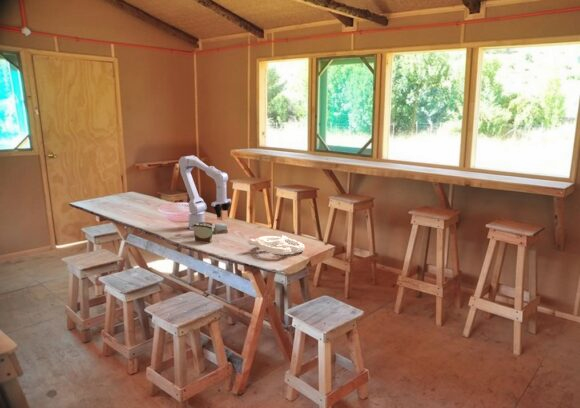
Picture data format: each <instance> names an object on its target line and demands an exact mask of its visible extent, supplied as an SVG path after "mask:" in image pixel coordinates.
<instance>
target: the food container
mask: <svg viewBox="0 0 580 408" xmlns="http://www.w3.org/2000/svg"><path fill="white" fill-rule="evenodd" d="M192 227H194V230H193V233H194V241H195V242H197V243H198V242H199V243H204V244H205V243H206V244H211V243H212V240H213V239H212V238H213V230H214V228H215V226H214V224H213V223H212V222H209V221H204V222H197V223H193V226H192Z"/></svg>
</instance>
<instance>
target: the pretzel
mask: <svg viewBox="0 0 580 408" xmlns="http://www.w3.org/2000/svg"><path fill="white" fill-rule="evenodd" d="M247 244H249V245H250V246H254V247H257V248H258V249H259V250H261V251H263V252H266V253H267V252H268V253H270V254H274V255H284V256H285V255H287V256H288V255H289V254H290V255H291V254H292V252H293V253H295V254H296V253H297V254H298V253H303V252H304V250H305V247H306V246H305V244H303V243H302V241H299V240H297V239H294V238H289V237H288V236H286V235H280V236H277V235H263V236H259V237H257V238H255V239H253V238H249V239H248V240H247ZM302 251H303V252H302Z"/></svg>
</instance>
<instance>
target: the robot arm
mask: <svg viewBox="0 0 580 408" xmlns="http://www.w3.org/2000/svg"><path fill="white" fill-rule="evenodd" d="M178 166H179V171H180V175H181V177H182V179H183V182H184V185H185V189H186V191H187V194H188V197H189V202H188V207H189V208H188V209H189V214H188V216H187V217H188V218H187V219H188V224H187V225H188V228H189V230H190V231H194V227H192V226H193V223H197V222H205V213H206V211H207V209H208V207H207V203H206V202H205V201H204V199H203V198H202V197H200V195H199V193H198V190H197V186H196V184H195V181H194V179H193V176H192V174H191V173H192V170H193V169H194V167H197V168H198V169H199V170H202V171H204V172H205V174H206V175H207V176H208V177H209V178H211V179H213V180H214V182H215V186H216V200H215V201H213V202H211V204H210V206H211V207H212V208H214V212H215V213H216V214H215V215H216V218H217V217H220V216H221V210H226V211H229V208H230V207H231V203H232V199H231V198H228V197H227V182H228V180H229V175H228V173H226V172H224V171H221V170H219V169H218V168H216V167H215V166H213V165H210V166H208V165H207V164H206V163H205V162H203V161H202V160H201V159H199V158H198V156H195V155H194V154H192V155H186V156H181V157H180V158H179V160H178Z"/></svg>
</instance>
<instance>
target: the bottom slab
mask: <svg viewBox="0 0 580 408" xmlns="http://www.w3.org/2000/svg"><path fill="white" fill-rule="evenodd" d="M213 232H214V234H215V235H221V234H228V233H229V231H228V229H227V230H216V229H215V227H214V229H213Z"/></svg>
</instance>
